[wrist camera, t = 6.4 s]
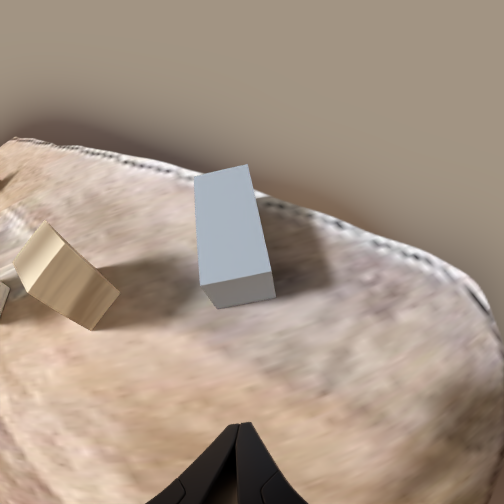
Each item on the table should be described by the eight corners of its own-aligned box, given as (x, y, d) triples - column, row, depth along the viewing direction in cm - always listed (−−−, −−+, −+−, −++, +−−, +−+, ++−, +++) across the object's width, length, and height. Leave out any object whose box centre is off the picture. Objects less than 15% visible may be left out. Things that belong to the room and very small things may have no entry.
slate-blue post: (271, 271, 20) (247, 164, 26) (200, 285, 20) (193, 176, 26) (276, 298, 24) (254, 199, 30) (217, 310, 24) (207, 210, 30)
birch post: (120, 292, 26) (64, 243, 18) (91, 330, 24) (27, 292, 17) (96, 268, 28) (45, 219, 20) (69, 303, 26) (12, 262, 19)
